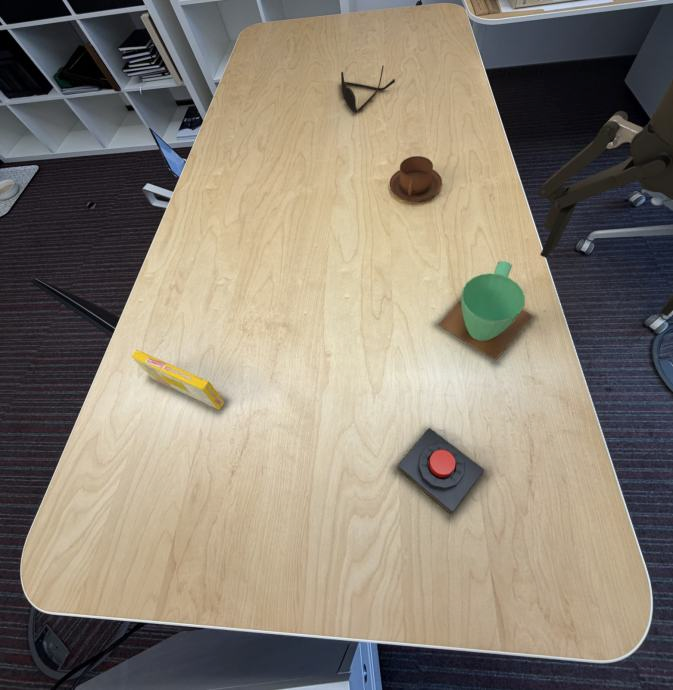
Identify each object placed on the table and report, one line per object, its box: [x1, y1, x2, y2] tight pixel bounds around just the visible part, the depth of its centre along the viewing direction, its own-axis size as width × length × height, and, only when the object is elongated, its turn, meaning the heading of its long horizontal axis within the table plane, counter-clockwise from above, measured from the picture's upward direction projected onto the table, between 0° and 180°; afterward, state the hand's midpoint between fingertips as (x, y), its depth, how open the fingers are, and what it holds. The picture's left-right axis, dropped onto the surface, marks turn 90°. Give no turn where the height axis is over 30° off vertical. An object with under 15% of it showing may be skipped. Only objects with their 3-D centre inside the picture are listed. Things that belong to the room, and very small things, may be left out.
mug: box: [460, 260, 526, 341], centre depth 72 cm, size 15×10×10 cm
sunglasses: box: [340, 64, 396, 114], centre depth 119 cm, size 17×14×5 cm
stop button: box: [429, 450, 456, 477], centre depth 60 cm, size 4×4×2 cm
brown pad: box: [438, 300, 533, 361], centre depth 76 cm, size 12×12×1 cm
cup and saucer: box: [389, 155, 443, 203], centre depth 95 cm, size 12×12×6 cm
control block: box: [397, 427, 485, 515], centre depth 62 cm, size 10×8×4 cm
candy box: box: [130, 349, 225, 411], centre depth 73 cm, size 16×2×8 cm, turn 64°
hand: (605, 276), depth 47 cm, fingers open, 13 cm apart
